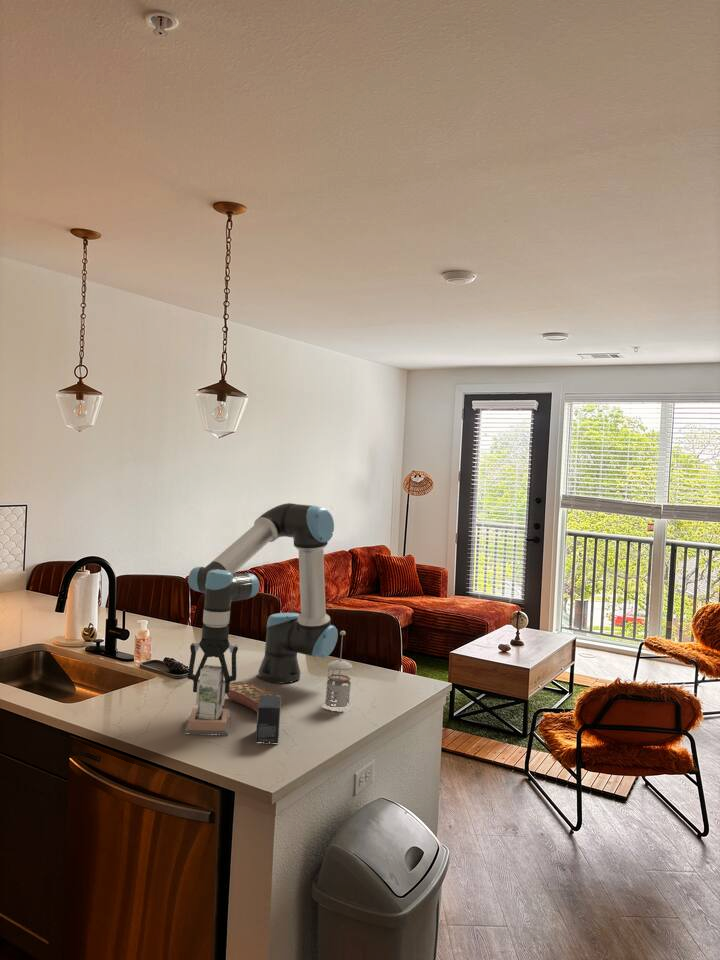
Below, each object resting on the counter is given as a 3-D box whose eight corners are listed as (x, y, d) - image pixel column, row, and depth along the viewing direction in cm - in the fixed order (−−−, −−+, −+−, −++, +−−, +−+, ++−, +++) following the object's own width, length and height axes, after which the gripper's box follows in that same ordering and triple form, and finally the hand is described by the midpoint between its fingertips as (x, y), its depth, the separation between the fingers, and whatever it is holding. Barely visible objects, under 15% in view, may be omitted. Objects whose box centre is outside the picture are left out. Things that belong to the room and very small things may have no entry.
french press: (329, 713, 228) (335, 635, 227) (314, 701, 238) (320, 626, 237) (357, 711, 232) (363, 633, 232) (341, 699, 242) (347, 625, 242)
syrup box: (221, 714, 211) (225, 665, 211) (215, 721, 205) (219, 671, 205) (202, 712, 211) (206, 663, 211) (196, 719, 206) (199, 669, 205)
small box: (256, 729, 209) (259, 693, 209) (279, 730, 210) (282, 695, 210) (254, 744, 199) (257, 706, 199) (278, 745, 199) (281, 707, 199)
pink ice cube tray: (218, 700, 233) (219, 684, 233) (243, 694, 240) (244, 679, 240) (262, 721, 217) (263, 705, 217) (287, 715, 224) (289, 699, 224)
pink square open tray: (230, 720, 215) (231, 708, 215) (228, 735, 203) (228, 723, 203) (189, 719, 213) (190, 707, 213) (184, 734, 202) (185, 721, 202)
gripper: (250, 623, 213) (244, 700, 213) (183, 619, 210) (177, 698, 211) (249, 629, 205) (243, 709, 206) (180, 625, 203) (174, 706, 203)
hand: (210, 703), depth 208 cm, fingers closed on syrup box, 6 cm apart
